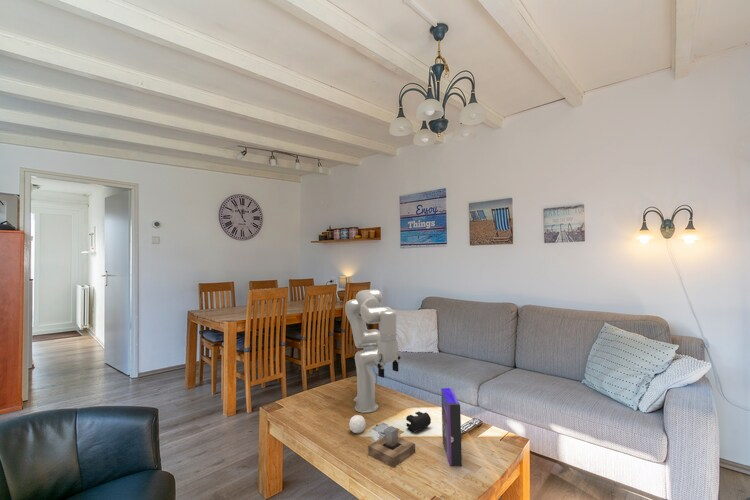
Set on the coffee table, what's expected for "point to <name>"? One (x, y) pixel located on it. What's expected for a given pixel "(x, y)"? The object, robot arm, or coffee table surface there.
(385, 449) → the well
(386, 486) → the coffee table surface
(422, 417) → the end cap
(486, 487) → the coffee table surface
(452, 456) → the cereal box
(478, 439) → the coffee table surface
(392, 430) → the grey rectangular block
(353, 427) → the geometric ball
